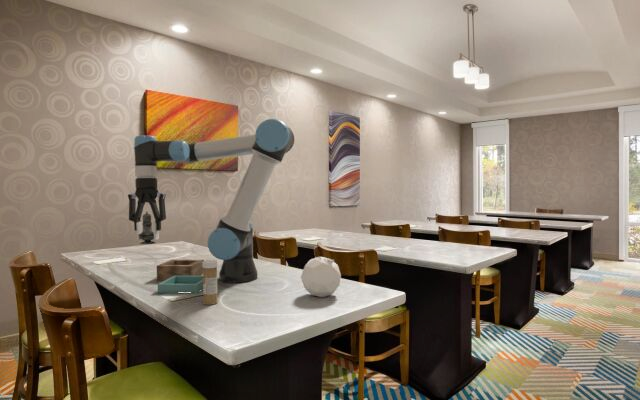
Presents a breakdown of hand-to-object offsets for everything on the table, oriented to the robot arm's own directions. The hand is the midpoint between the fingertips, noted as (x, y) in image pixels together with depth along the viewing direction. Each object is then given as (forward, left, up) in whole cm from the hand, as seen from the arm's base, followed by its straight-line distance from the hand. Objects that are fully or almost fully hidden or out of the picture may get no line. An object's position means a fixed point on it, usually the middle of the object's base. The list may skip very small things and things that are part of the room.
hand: (148, 239), depth 152 cm
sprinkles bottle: (-31, +22, -18) cm, 42 cm away
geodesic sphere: (-66, +11, -18) cm, 69 cm away
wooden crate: (-7, -14, -17) cm, 23 cm away
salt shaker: (0, 0, -2) cm, 2 cm away
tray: (-16, +4, -17) cm, 24 cm away
